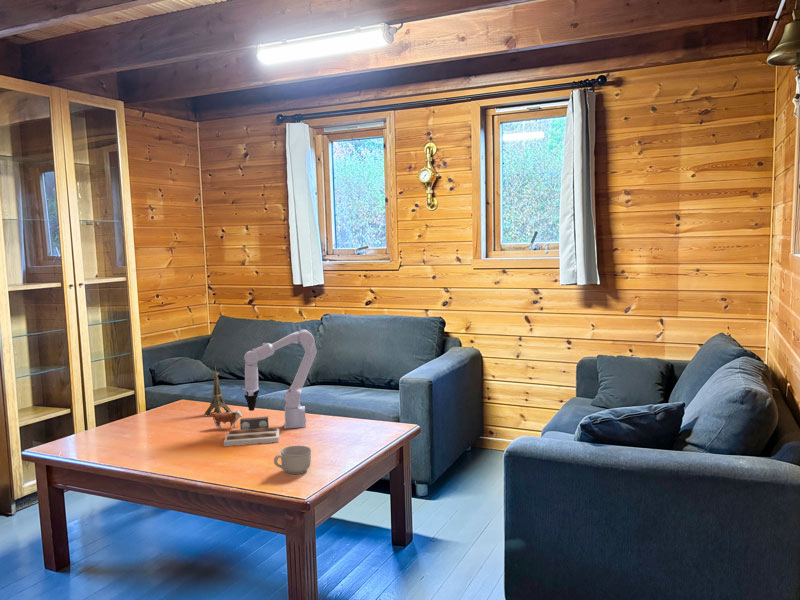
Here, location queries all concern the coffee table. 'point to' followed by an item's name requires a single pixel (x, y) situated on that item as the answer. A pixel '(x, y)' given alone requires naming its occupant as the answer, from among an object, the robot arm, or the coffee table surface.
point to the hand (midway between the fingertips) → (252, 408)
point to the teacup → (294, 459)
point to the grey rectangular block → (254, 423)
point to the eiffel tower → (217, 398)
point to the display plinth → (252, 436)
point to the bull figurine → (226, 418)
